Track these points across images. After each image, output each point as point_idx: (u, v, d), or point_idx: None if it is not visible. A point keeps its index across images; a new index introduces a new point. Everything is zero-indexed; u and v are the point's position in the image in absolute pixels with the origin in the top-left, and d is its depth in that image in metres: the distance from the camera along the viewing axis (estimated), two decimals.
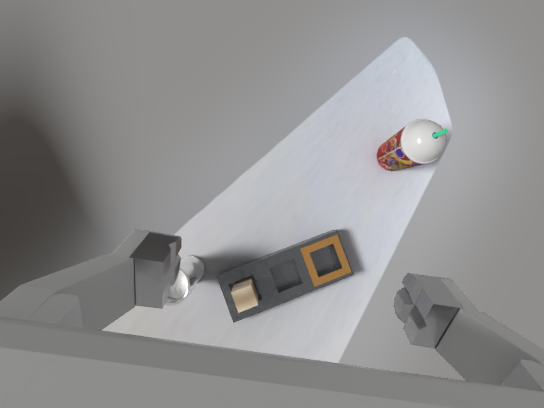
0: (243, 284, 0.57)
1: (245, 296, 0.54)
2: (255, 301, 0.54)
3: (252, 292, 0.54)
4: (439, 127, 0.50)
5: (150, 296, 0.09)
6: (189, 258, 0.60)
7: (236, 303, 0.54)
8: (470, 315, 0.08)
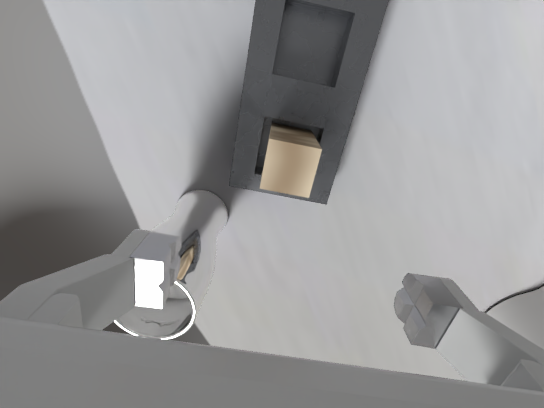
0: None
1: (286, 165, 0.22)
2: (310, 150, 0.21)
3: (287, 145, 0.21)
4: None
5: (150, 296, 0.09)
6: (175, 208, 0.31)
7: (288, 190, 0.23)
8: (471, 315, 0.08)
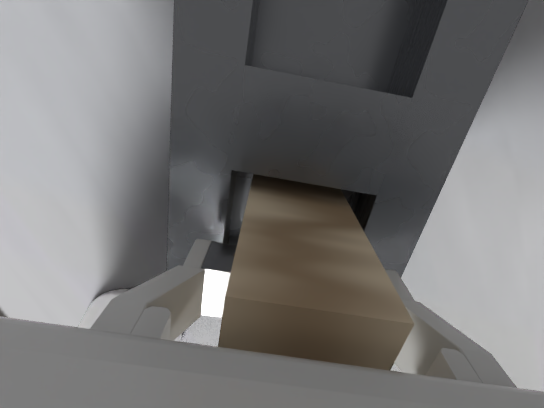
0: None
1: None
2: (373, 328, 0.06)
3: (292, 312, 0.06)
4: None
5: (216, 306, 0.09)
6: None
7: None
8: (404, 305, 0.08)
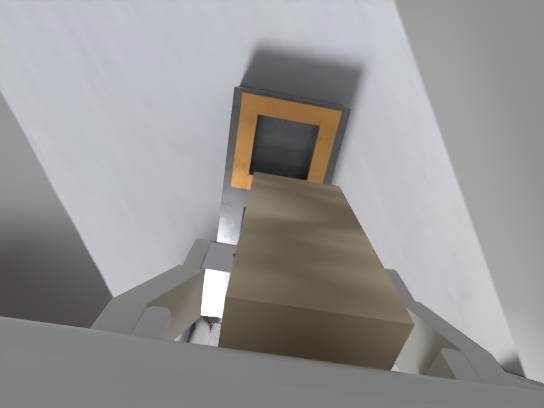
0: None
1: None
2: (374, 328, 0.06)
3: (292, 313, 0.06)
4: None
5: (216, 306, 0.09)
6: None
7: None
8: None
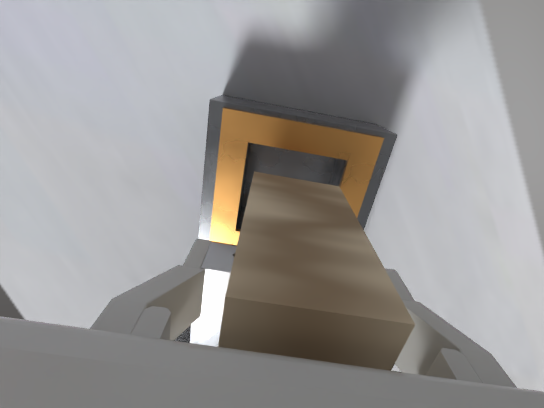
0: None
1: None
2: (374, 329, 0.06)
3: (292, 313, 0.06)
4: None
5: (216, 306, 0.09)
6: None
7: None
8: None
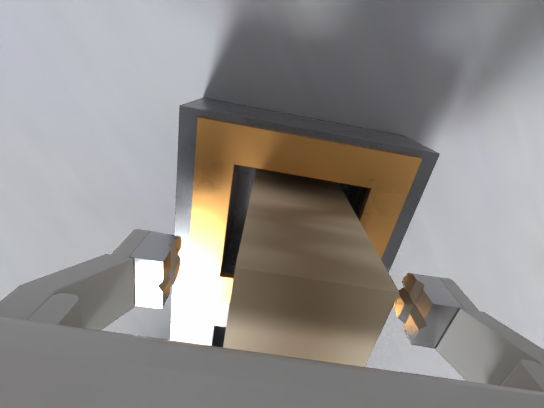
0: None
1: (289, 329, 0.07)
2: (363, 296, 0.07)
3: (293, 282, 0.07)
4: None
5: (150, 296, 0.09)
6: None
7: None
8: (471, 315, 0.08)
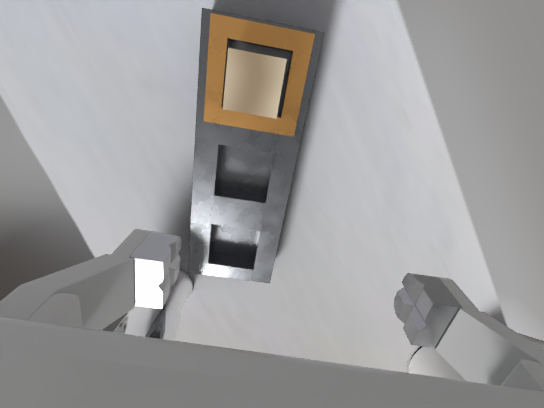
0: None
1: (249, 79, 0.20)
2: (274, 61, 0.19)
3: (249, 55, 0.19)
4: None
5: (150, 296, 0.09)
6: None
7: (253, 110, 0.21)
8: (470, 315, 0.08)
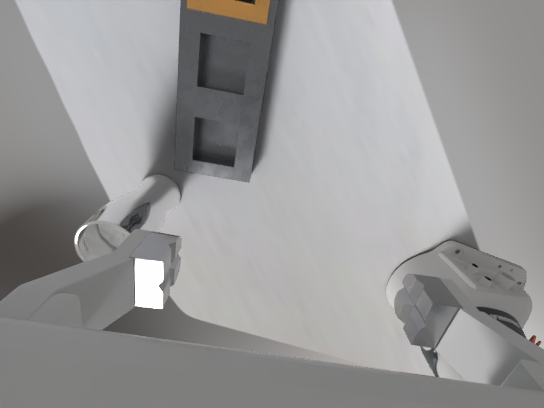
0: None
1: None
2: None
3: None
4: None
5: (150, 296, 0.09)
6: None
7: None
8: (470, 315, 0.08)
